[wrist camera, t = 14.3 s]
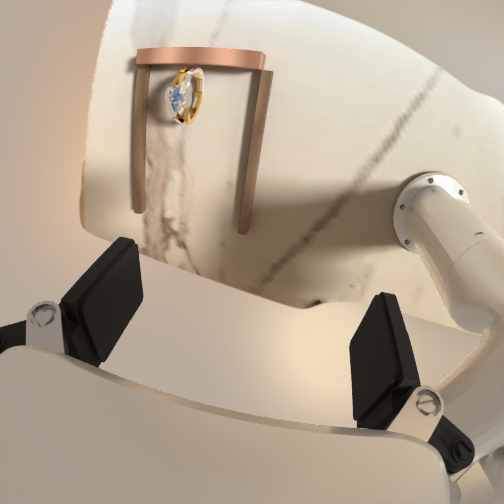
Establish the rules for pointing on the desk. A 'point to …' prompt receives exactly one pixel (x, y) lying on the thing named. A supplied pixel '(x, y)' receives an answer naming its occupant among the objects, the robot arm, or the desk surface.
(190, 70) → the ring
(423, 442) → the robot arm
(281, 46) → the desk surface
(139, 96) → the channel
